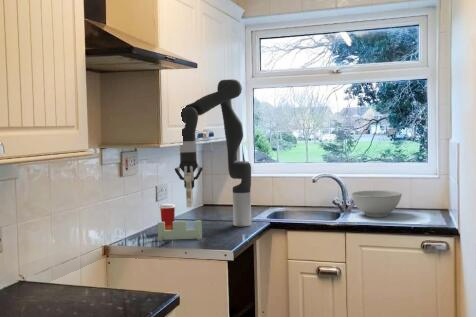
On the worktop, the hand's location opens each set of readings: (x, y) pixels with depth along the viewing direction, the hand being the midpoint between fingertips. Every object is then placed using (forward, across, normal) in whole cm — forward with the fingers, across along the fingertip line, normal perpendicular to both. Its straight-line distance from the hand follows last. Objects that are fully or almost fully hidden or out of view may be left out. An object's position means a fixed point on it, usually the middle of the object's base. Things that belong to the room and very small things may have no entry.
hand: (189, 188), depth 238 cm
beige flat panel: (+7, 0, 0) cm, 7 cm away
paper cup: (+23, +12, -15) cm, 30 cm away
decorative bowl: (+23, -100, -44) cm, 112 cm away
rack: (+23, +5, 0) cm, 24 cm away
